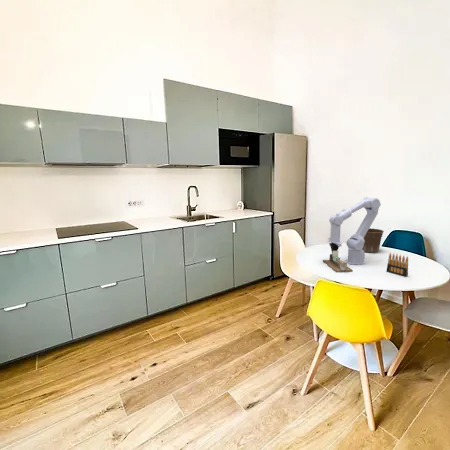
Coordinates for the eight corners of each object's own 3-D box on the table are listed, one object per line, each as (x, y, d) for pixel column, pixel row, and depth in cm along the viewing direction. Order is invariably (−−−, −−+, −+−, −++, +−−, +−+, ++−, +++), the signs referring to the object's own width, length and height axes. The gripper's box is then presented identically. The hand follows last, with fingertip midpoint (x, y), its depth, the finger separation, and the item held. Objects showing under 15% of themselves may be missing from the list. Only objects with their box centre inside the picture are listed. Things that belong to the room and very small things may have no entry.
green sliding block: (337, 260, 169) (338, 250, 168) (340, 262, 165) (341, 252, 164) (332, 260, 169) (332, 250, 168) (334, 262, 165) (335, 252, 164)
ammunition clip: (386, 271, 155) (388, 252, 153) (387, 271, 156) (389, 251, 154) (406, 277, 147) (408, 256, 144) (407, 276, 148) (410, 256, 145)
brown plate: (337, 261, 176) (337, 252, 175) (352, 271, 157) (353, 262, 156) (322, 261, 176) (323, 253, 175) (336, 272, 156) (336, 262, 155)
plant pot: (362, 246, 208) (363, 227, 205) (384, 250, 196) (386, 229, 193) (354, 251, 198) (355, 230, 194) (377, 255, 186) (379, 233, 183)
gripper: (324, 231, 174) (323, 251, 177) (334, 236, 160) (332, 257, 163) (334, 231, 174) (333, 250, 177) (345, 236, 160) (344, 257, 163)
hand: (334, 254), depth 170 cm, fingers closed
